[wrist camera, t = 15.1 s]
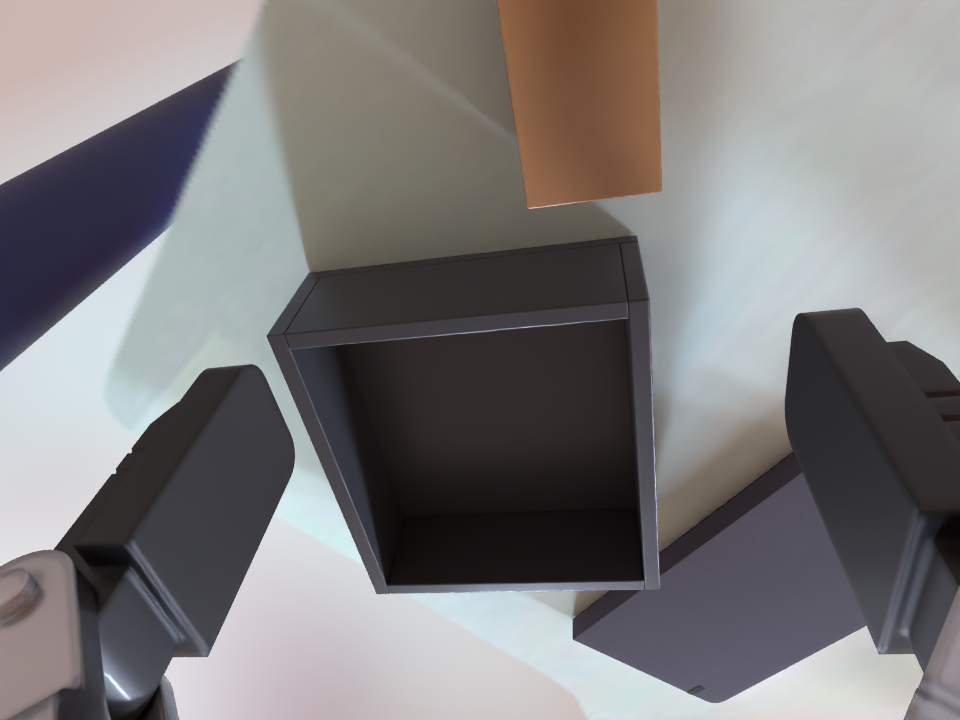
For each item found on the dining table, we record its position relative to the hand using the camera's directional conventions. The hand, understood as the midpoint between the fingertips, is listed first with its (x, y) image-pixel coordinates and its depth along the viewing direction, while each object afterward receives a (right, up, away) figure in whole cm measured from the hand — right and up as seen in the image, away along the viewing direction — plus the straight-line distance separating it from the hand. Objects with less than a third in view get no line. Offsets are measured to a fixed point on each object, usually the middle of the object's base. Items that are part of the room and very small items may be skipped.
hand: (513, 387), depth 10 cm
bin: (0, -2, +25) cm, 25 cm away
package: (+3, +13, +15) cm, 20 cm away
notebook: (+17, -14, +32) cm, 38 cm away
